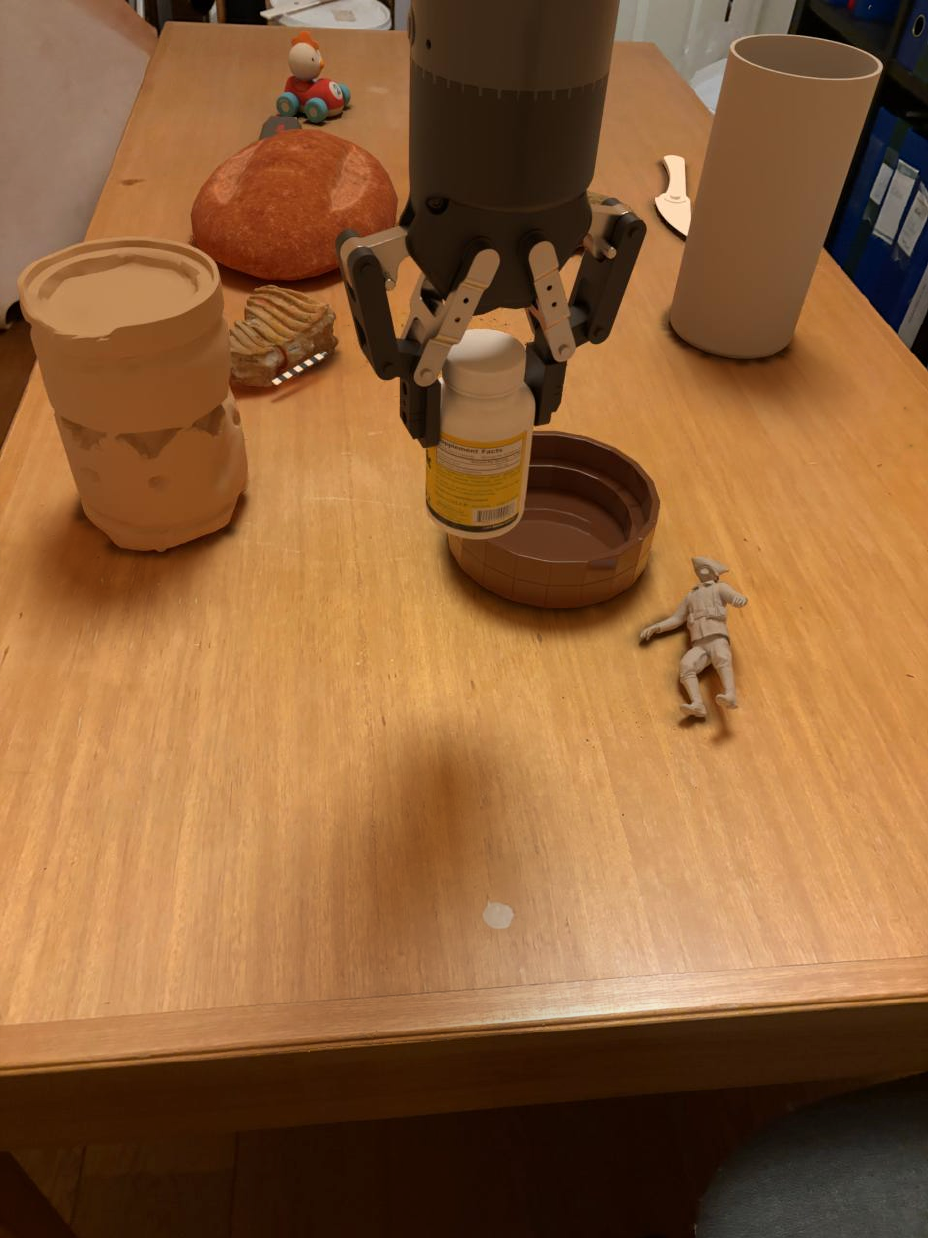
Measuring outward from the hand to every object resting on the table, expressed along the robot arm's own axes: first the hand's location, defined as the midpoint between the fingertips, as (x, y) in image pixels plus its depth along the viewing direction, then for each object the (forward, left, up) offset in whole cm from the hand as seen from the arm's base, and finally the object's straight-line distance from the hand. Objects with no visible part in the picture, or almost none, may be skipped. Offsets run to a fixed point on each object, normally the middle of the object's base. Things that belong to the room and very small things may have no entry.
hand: (480, 426), depth 47 cm
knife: (+66, -55, -20) cm, 88 cm away
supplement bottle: (0, 0, -6) cm, 6 cm away
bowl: (+11, -11, -20) cm, 25 cm away
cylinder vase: (+35, -43, -20) cm, 59 cm away
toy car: (+107, -19, -20) cm, 110 cm away
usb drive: (+94, -11, -20) cm, 96 cm away
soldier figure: (-3, -16, -20) cm, 26 cm away
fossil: (+41, +2, -20) cm, 45 cm away
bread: (+70, -7, -20) cm, 73 cm away
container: (+25, +15, -20) cm, 35 cm away
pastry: (+63, -38, -20) cm, 76 cm away
